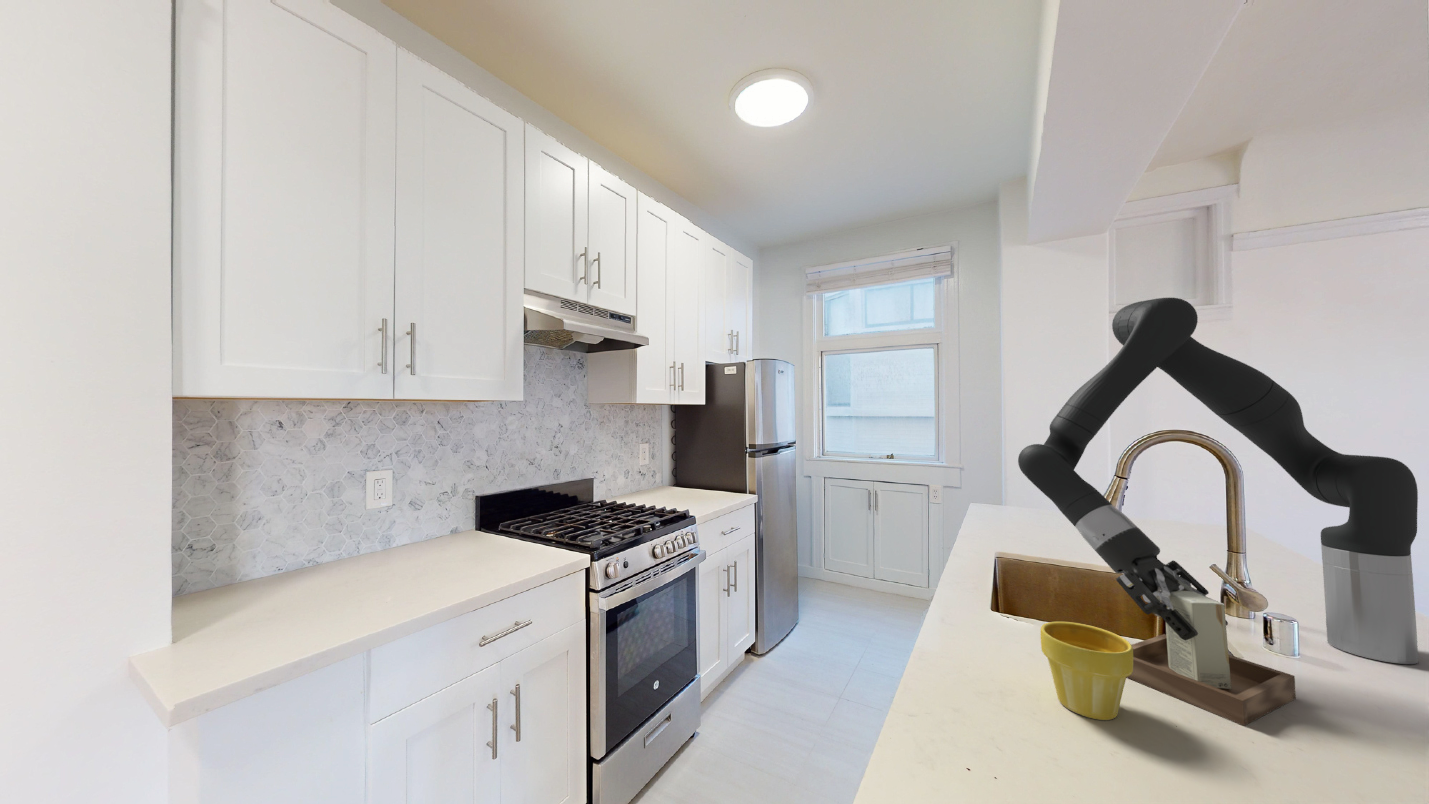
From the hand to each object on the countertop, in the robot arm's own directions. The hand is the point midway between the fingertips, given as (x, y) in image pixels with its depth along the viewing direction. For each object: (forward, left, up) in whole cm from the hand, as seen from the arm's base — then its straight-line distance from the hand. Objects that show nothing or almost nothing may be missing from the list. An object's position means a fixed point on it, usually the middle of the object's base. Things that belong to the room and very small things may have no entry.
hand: (1207, 632), depth 72 cm
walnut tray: (0, -1, -8) cm, 8 cm away
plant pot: (+21, -5, -8) cm, 23 cm away
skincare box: (0, -2, -8) cm, 8 cm away
